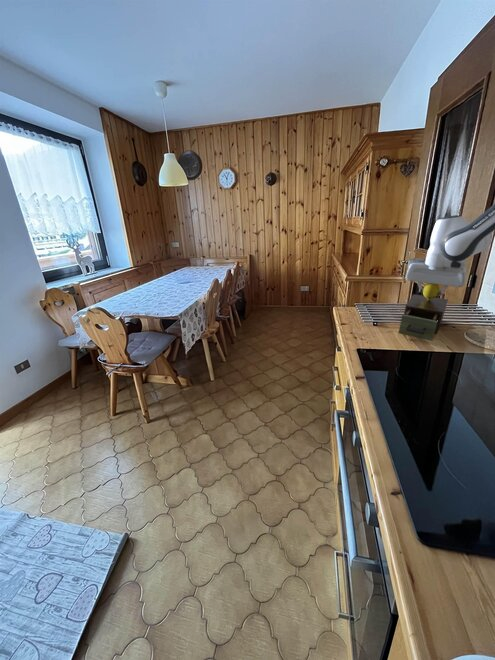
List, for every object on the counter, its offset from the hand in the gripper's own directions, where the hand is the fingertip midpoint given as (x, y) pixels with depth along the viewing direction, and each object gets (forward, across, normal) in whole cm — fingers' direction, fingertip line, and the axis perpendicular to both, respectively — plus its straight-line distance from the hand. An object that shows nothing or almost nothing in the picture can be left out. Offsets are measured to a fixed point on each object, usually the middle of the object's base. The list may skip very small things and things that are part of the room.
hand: (430, 293), depth 116 cm
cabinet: (+12, 0, -4) cm, 13 cm away
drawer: (+12, 0, -14) cm, 19 cm away
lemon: (+3, 0, 0) cm, 3 cm away
